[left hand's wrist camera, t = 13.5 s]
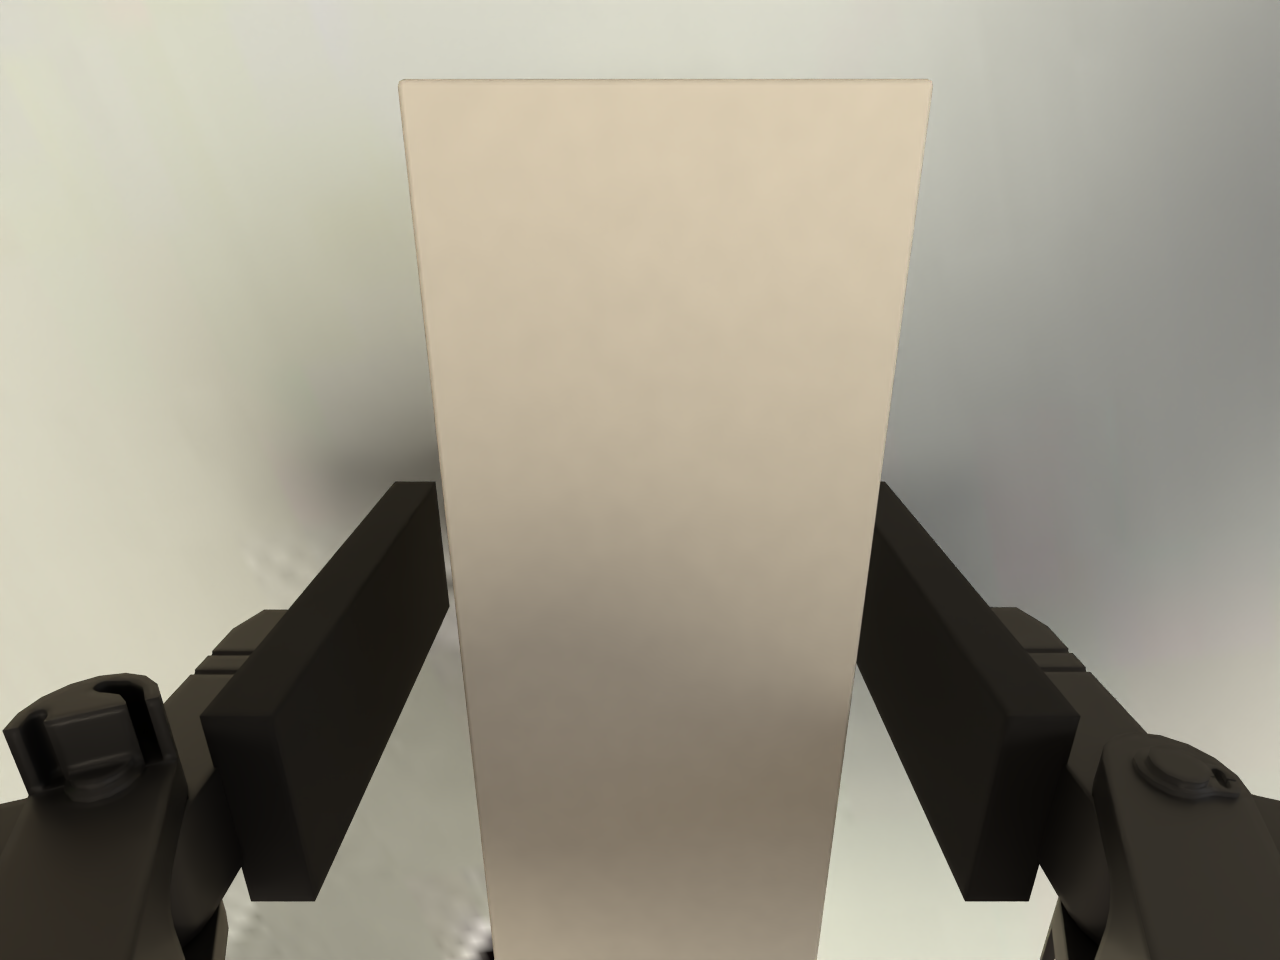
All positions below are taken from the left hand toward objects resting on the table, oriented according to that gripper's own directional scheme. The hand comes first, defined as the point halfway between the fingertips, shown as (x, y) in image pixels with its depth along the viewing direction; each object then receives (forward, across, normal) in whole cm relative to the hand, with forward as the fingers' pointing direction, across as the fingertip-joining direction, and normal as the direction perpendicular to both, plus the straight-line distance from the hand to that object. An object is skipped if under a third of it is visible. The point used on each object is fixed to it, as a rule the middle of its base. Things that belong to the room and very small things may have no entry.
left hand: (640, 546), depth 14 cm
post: (+3, 0, -32) cm, 33 cm away
